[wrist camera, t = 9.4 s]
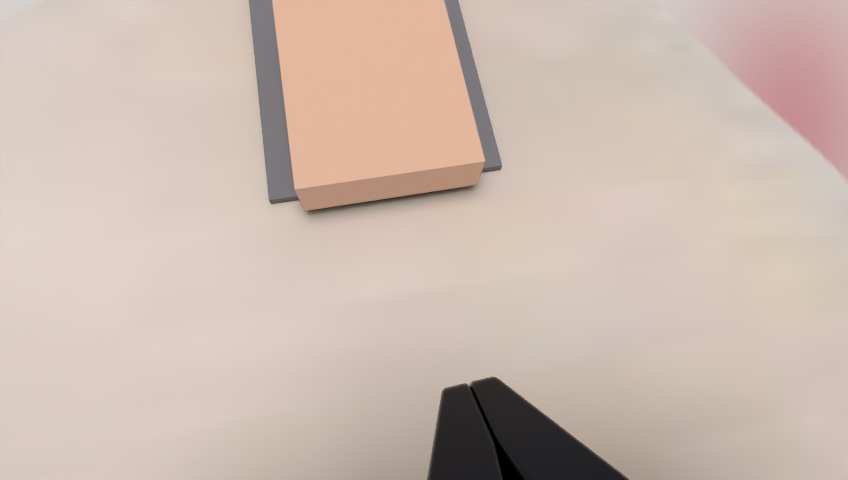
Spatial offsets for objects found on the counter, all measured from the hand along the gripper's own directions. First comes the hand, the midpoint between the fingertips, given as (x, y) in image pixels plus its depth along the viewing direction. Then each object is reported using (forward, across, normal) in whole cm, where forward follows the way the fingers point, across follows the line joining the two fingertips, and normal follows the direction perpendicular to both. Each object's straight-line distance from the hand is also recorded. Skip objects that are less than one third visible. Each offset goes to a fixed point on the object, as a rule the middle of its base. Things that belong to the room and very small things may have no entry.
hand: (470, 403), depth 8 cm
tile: (+15, 0, +2) cm, 15 cm away
